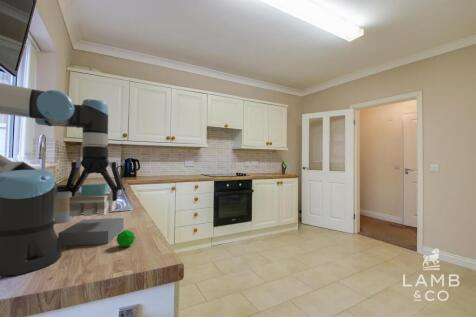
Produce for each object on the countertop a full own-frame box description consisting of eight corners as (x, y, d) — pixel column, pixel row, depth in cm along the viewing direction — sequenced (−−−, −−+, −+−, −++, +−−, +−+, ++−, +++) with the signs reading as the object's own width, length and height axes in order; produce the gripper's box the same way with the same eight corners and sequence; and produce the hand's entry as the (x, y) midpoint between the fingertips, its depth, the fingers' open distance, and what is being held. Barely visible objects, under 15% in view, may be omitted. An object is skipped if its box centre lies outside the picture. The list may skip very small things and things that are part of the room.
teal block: (101, 195, 77) (101, 184, 77) (81, 195, 76) (81, 185, 76) (107, 192, 83) (107, 182, 83) (89, 193, 82) (89, 183, 82)
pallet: (104, 215, 75) (104, 196, 75) (69, 216, 73) (69, 197, 73) (116, 207, 86) (116, 191, 86) (86, 208, 85) (87, 191, 85)
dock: (108, 243, 73) (108, 231, 73) (58, 246, 70) (58, 233, 70) (123, 228, 89) (123, 218, 89) (83, 230, 86) (83, 219, 86)
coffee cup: (65, 224, 94) (66, 187, 94) (42, 223, 94) (43, 186, 94) (82, 218, 103) (82, 184, 103) (61, 217, 103) (61, 184, 103)
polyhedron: (127, 242, 75) (128, 227, 75) (138, 245, 72) (138, 229, 72) (113, 247, 70) (113, 231, 70) (123, 250, 68) (123, 234, 68)
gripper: (133, 147, 85) (133, 207, 85) (64, 146, 81) (64, 209, 81) (127, 146, 78) (127, 212, 78) (51, 144, 74) (51, 214, 74)
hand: (95, 210), depth 80 cm, fingers closed on pallet, 10 cm apart
